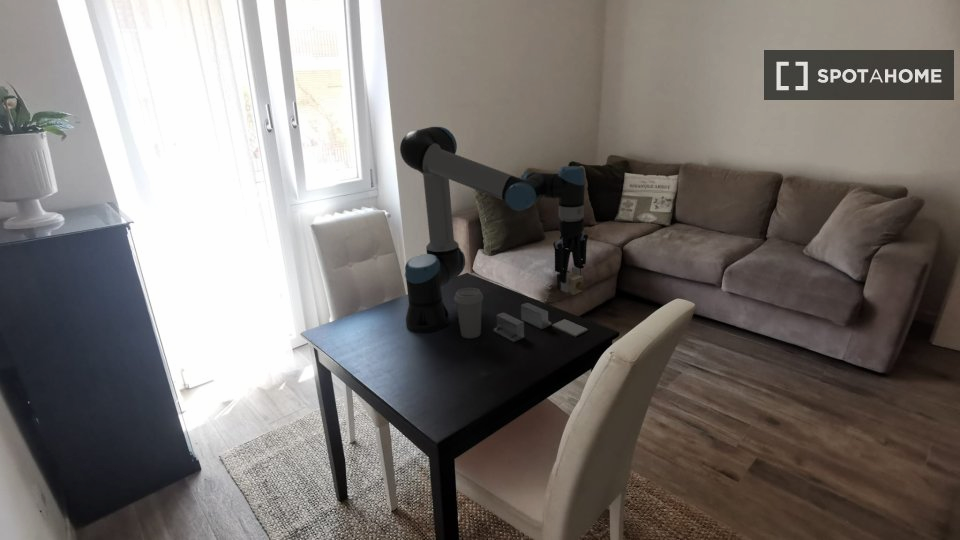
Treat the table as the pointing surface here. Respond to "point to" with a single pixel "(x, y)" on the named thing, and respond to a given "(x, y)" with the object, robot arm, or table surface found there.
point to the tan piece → (573, 283)
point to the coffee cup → (469, 311)
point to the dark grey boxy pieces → (521, 322)
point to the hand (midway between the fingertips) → (570, 288)
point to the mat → (570, 327)
